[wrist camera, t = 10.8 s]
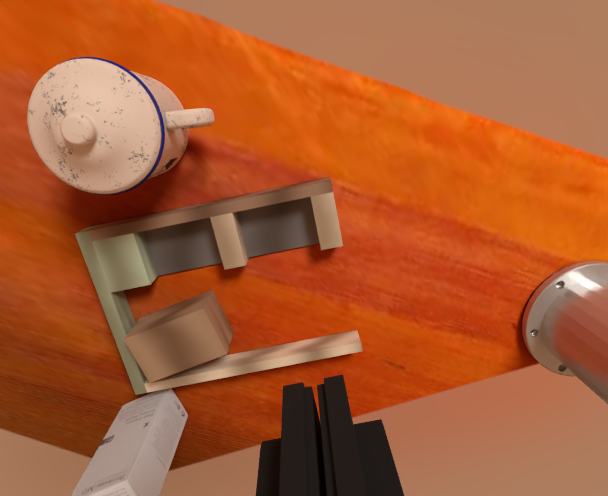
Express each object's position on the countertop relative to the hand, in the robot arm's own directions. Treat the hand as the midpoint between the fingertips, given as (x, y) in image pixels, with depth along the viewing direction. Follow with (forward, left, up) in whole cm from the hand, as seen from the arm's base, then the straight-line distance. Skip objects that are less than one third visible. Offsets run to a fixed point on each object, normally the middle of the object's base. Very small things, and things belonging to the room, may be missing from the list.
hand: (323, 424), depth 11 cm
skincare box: (+20, +19, -29) cm, 40 cm away
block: (+14, +9, -29) cm, 34 cm away
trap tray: (+8, +7, -29) cm, 31 cm away
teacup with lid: (+11, -10, -29) cm, 33 cm away
